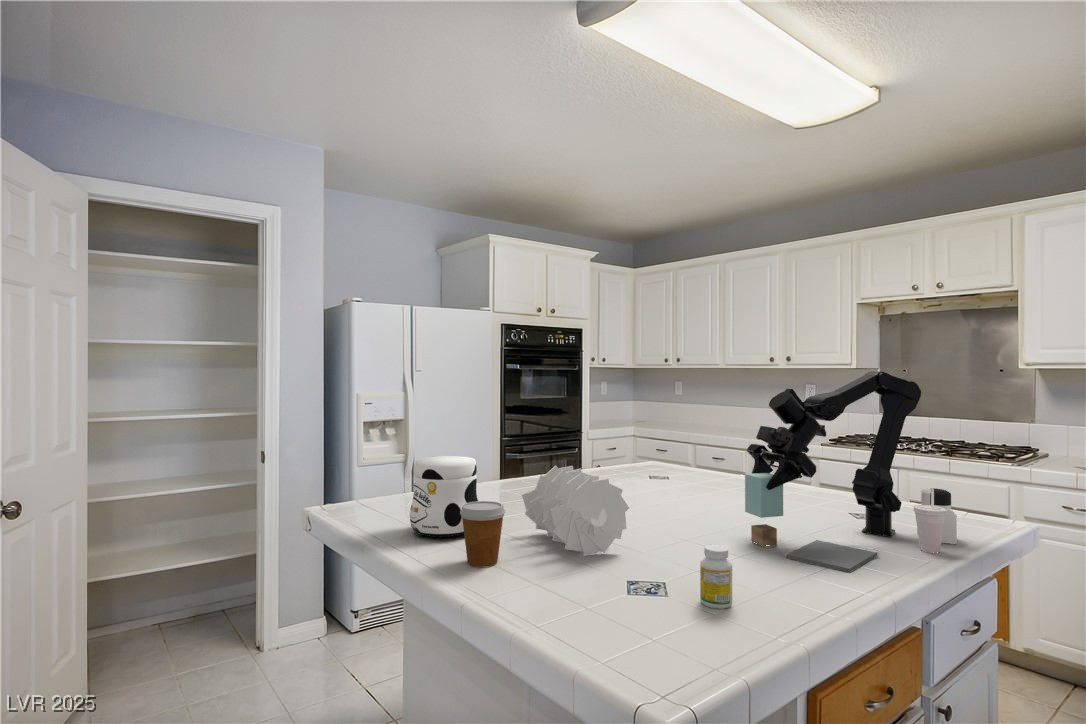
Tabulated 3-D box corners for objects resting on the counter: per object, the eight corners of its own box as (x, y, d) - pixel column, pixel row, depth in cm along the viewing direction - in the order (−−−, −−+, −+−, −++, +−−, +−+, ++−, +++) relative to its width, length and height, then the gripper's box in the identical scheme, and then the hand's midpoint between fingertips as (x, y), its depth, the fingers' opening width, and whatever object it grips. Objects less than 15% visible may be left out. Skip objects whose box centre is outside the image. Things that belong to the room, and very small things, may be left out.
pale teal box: (766, 510, 145) (766, 472, 145) (783, 515, 139) (783, 476, 139) (745, 511, 143) (745, 473, 143) (761, 517, 137) (761, 478, 137)
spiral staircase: (568, 546, 152) (618, 571, 129) (508, 521, 146) (549, 543, 123) (594, 478, 156) (647, 491, 133) (537, 452, 150) (582, 460, 128)
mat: (817, 543, 141) (817, 540, 141) (877, 556, 131) (877, 552, 131) (786, 557, 130) (786, 554, 130) (849, 572, 120) (849, 568, 120)
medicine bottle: (951, 537, 146) (950, 488, 147) (957, 545, 140) (956, 493, 140) (916, 534, 149) (916, 485, 150) (921, 541, 143) (920, 490, 143)
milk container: (395, 537, 145) (395, 462, 145) (434, 521, 161) (434, 453, 161) (457, 545, 139) (458, 467, 139) (491, 527, 155) (492, 457, 155)
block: (765, 540, 143) (765, 524, 143) (776, 545, 139) (776, 528, 140) (751, 542, 142) (751, 525, 142) (762, 547, 138) (762, 529, 138)
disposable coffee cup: (469, 572, 120) (469, 512, 120) (453, 559, 128) (453, 503, 128) (512, 565, 124) (512, 507, 124) (494, 553, 133) (494, 498, 133)
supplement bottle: (724, 612, 101) (724, 554, 101) (694, 603, 104) (694, 548, 104) (737, 602, 105) (737, 547, 105) (708, 595, 108) (708, 541, 108)
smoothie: (952, 556, 132) (952, 492, 132) (920, 554, 133) (919, 490, 133) (939, 547, 138) (939, 486, 138) (908, 545, 139) (908, 485, 139)
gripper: (752, 411, 151) (714, 457, 148) (805, 417, 133) (763, 469, 130) (779, 441, 154) (742, 487, 150) (834, 451, 136) (794, 503, 132)
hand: (758, 486), depth 141 cm, fingers closed on pale teal box, 6 cm apart
